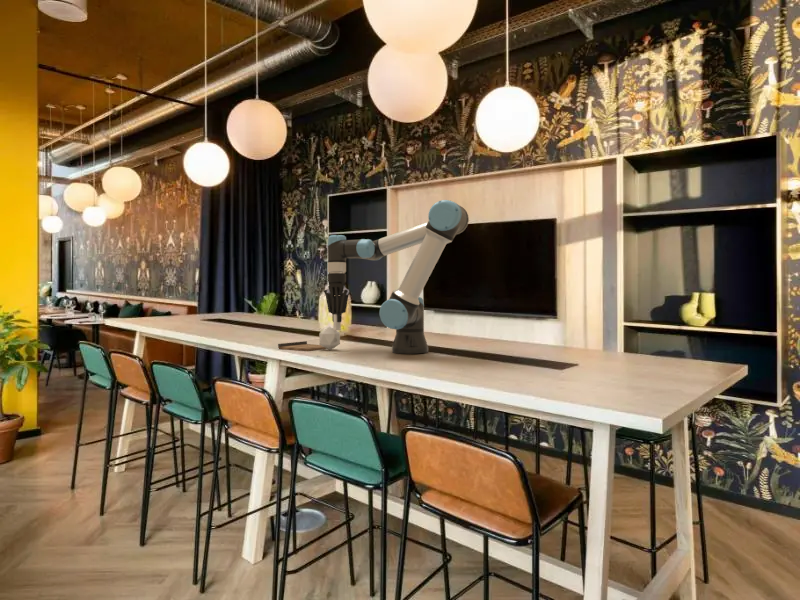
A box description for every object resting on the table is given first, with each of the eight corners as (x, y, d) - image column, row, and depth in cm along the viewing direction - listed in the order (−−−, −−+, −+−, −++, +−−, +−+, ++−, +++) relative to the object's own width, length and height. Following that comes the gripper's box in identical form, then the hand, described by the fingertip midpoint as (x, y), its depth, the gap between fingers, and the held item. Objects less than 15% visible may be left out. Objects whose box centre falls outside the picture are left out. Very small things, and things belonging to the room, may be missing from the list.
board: (334, 348, 236) (334, 343, 236) (307, 351, 223) (307, 345, 223) (305, 346, 246) (305, 341, 246) (278, 348, 234) (278, 343, 234)
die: (336, 351, 221) (336, 327, 221) (316, 351, 223) (315, 327, 223) (343, 349, 230) (342, 326, 230) (323, 349, 231) (322, 326, 231)
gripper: (354, 272, 223) (354, 330, 223) (331, 273, 230) (331, 329, 231) (342, 272, 217) (342, 331, 217) (319, 273, 224) (319, 330, 224)
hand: (337, 330), depth 224 cm, fingers closed
